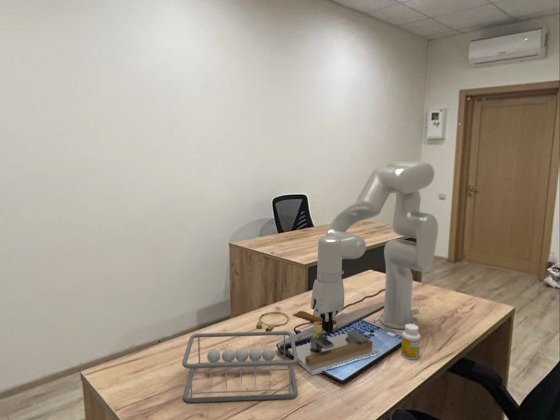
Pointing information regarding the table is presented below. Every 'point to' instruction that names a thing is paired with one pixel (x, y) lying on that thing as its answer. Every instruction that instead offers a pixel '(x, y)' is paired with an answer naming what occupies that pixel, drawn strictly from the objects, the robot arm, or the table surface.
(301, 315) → the primitive tool
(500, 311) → the table surface
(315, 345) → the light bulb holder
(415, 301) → the table surface
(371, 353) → the bolt plate
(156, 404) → the table surface
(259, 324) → the extension cord
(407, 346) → the supplement bottle
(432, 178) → the robot arm
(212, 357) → the newton's cradle
